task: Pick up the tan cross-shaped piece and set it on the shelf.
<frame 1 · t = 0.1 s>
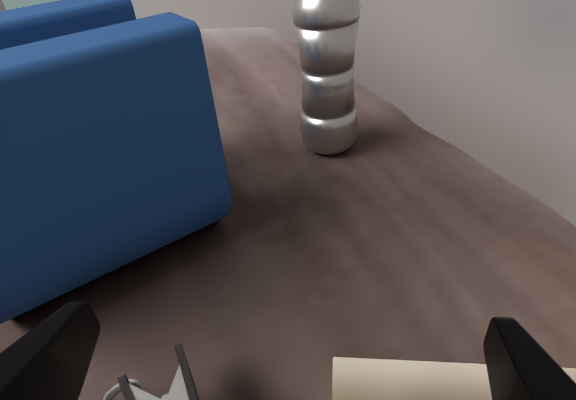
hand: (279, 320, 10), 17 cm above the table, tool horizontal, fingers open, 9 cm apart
block: (107, 234, 39), on the table
plastic bottle: (329, 148, 49), on the table
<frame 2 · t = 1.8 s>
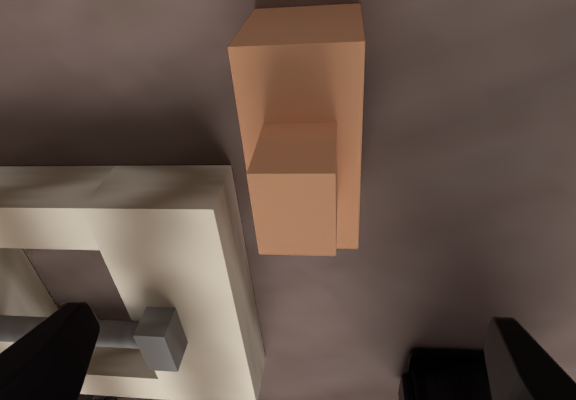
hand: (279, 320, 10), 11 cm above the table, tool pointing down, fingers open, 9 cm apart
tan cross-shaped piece: (310, 105, 18), on the table
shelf: (94, 274, 27), on the table
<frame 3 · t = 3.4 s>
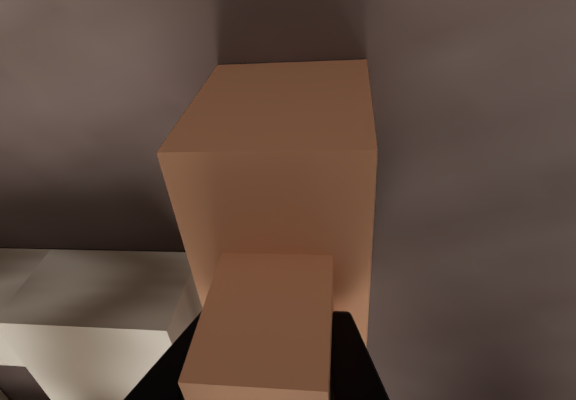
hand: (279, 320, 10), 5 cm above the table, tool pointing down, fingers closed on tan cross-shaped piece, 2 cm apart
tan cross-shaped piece: (299, 186, 14), on the table, touching gripper
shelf: (41, 361, 22), on the table
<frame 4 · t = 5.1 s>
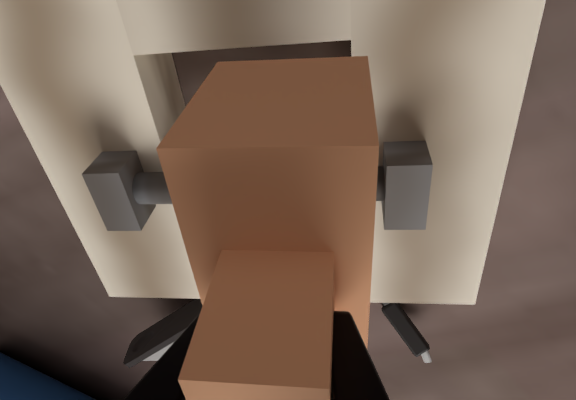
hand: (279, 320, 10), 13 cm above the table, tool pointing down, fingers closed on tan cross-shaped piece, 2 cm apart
clip-on lamp: (286, 320, 30), on the table
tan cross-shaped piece: (299, 183, 14), point 7 cm above the table, touching gripper
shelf: (271, 138, 21), on the table
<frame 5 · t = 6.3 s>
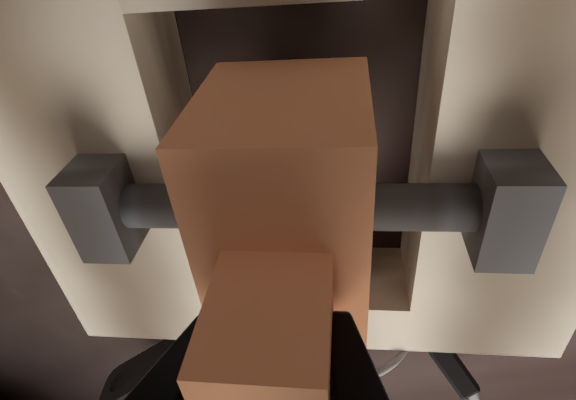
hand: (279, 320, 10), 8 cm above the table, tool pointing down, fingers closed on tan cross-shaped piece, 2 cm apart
clip-on lamp: (299, 349, 25), on the table
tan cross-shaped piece: (299, 184, 14), point 3 cm above the table, touching gripper
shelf: (304, 139, 16), on the table
when the fingers open (8 cm above the table, at t = 7.1 s): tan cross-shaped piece moves 1 cm, resting on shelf.
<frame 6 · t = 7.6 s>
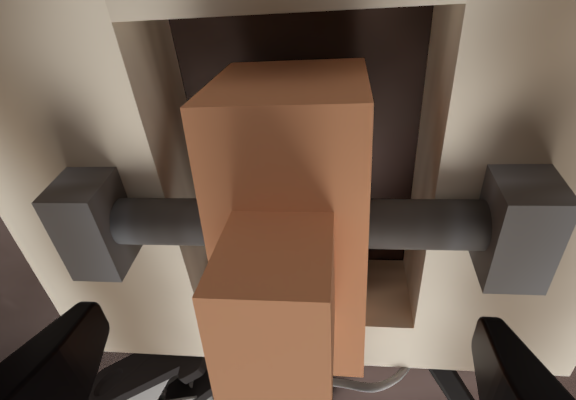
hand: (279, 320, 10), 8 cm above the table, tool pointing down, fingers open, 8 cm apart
clip-on lamp: (292, 356, 24), on the table
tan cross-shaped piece: (302, 180, 15), point 1 cm above the table, tilted 8°, touching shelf
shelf: (303, 149, 16), on the table
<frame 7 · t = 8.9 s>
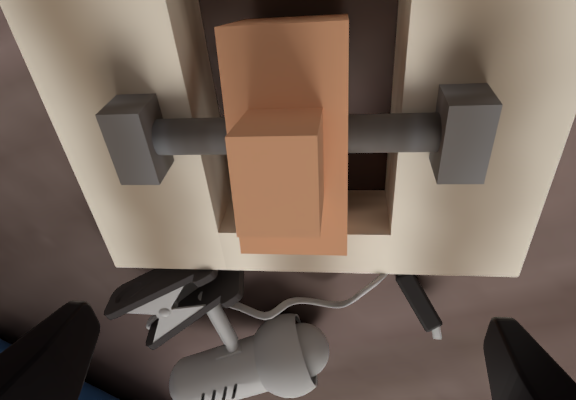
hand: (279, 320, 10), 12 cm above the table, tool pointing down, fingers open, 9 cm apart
block: (62, 394, 40), on the table
clip-on lamp: (286, 285, 28), on the table, touching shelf
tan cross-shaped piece: (300, 116, 18), point 1 cm above the table, tilted 11°, touching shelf
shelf: (301, 90, 19), on the table
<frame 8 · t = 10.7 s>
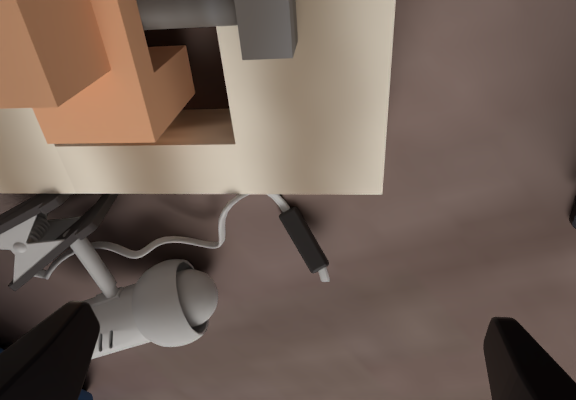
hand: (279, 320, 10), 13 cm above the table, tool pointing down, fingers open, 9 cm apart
clip-on lamp: (173, 228, 26), on the table
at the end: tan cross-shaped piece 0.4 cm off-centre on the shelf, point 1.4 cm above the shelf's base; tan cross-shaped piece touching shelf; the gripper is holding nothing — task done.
